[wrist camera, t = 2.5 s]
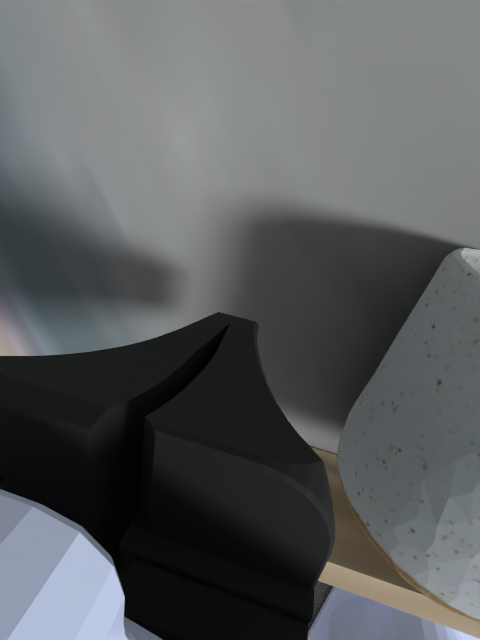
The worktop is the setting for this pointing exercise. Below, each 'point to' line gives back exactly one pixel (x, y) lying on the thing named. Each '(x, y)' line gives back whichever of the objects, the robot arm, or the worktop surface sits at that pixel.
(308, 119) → the worktop surface
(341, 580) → the brown wooden pieces
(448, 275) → the ceramic mug
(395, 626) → the robot arm
